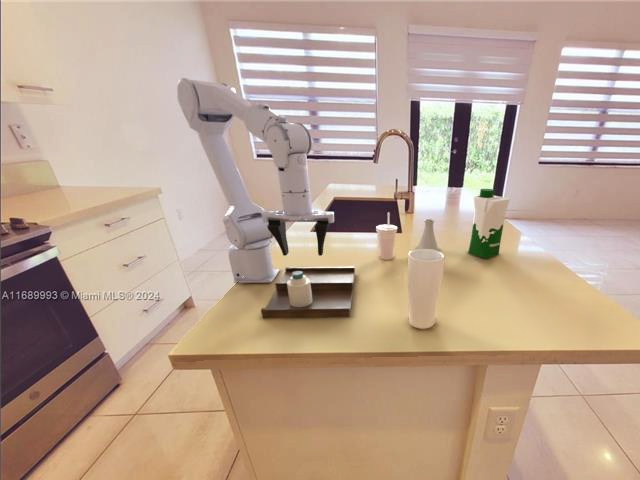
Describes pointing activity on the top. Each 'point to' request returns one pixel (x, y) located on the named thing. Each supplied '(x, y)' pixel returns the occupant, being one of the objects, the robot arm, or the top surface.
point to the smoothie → (386, 239)
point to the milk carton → (487, 224)
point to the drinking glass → (424, 286)
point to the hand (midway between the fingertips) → (303, 254)
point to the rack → (315, 293)
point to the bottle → (299, 290)
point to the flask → (428, 237)
